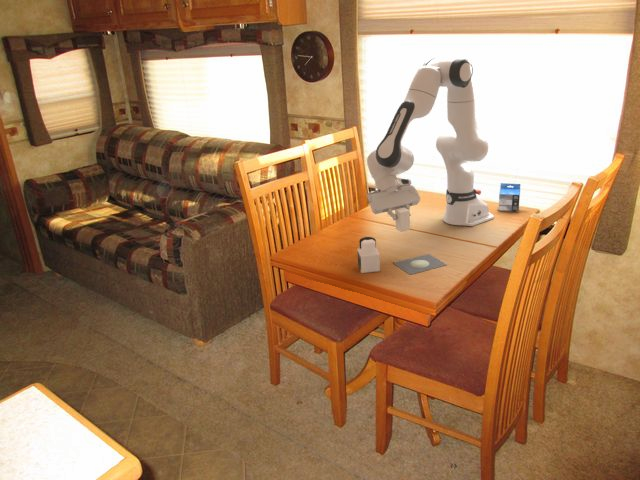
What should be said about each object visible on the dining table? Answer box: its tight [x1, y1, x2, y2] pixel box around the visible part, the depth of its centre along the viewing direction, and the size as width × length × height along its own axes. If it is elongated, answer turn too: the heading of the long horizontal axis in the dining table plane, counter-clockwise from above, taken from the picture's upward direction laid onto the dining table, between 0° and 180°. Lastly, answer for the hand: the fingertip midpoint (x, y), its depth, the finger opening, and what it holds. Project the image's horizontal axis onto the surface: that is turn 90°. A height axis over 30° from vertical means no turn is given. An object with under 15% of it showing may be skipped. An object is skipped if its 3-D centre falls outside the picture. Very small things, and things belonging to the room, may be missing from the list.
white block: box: [394, 208, 411, 233], centre depth 203 cm, size 4×4×8 cm
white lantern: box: [356, 236, 381, 274], centre depth 195 cm, size 7×7×12 cm
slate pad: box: [393, 253, 448, 275], centre depth 197 cm, size 16×12×1 cm
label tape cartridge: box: [497, 182, 521, 213], centre depth 242 cm, size 9×4×12 cm, turn 67°
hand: (402, 218), depth 203 cm, fingers closed on white block, 4 cm apart
